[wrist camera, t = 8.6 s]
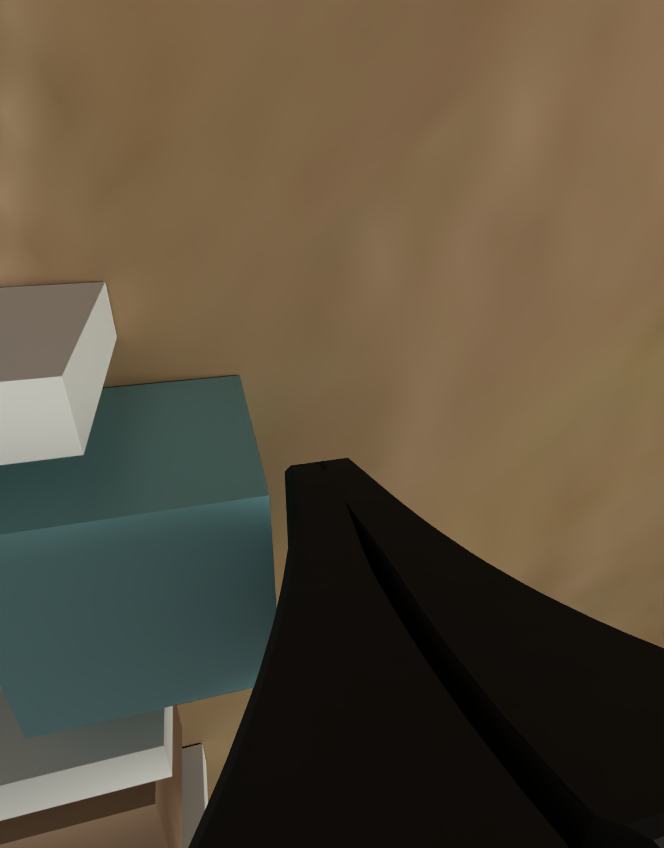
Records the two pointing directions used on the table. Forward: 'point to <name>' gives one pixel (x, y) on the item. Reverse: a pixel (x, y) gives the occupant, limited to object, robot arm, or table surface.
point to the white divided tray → (55, 438)
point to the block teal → (137, 560)
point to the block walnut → (109, 816)
